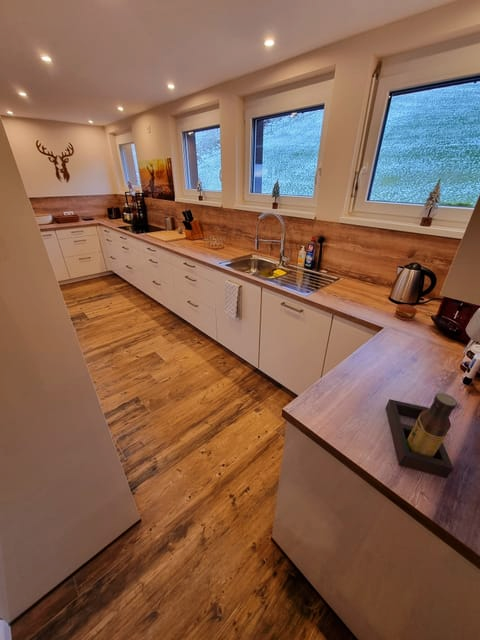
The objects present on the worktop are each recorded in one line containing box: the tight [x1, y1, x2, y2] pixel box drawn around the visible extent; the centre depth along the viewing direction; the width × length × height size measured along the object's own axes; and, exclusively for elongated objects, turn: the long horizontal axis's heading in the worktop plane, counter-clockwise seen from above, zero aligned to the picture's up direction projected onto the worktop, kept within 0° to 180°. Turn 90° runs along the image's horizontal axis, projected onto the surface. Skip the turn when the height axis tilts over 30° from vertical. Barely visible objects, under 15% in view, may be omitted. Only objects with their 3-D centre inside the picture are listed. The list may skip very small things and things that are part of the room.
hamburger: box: [393, 303, 419, 322], centre depth 137 cm, size 9×10×7 cm
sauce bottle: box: [406, 392, 458, 458], centre depth 65 cm, size 6×6×20 cm
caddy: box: [385, 399, 454, 479], centre depth 72 cm, size 11×20×4 cm, turn 163°
